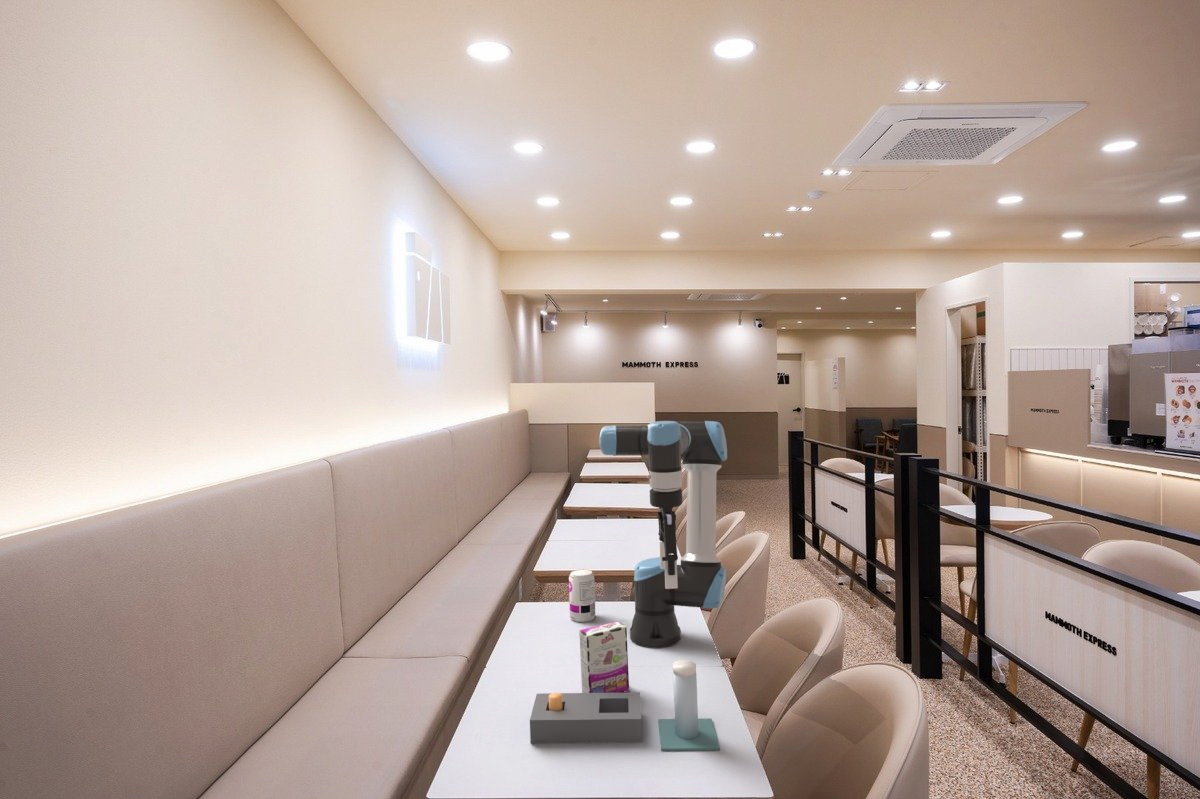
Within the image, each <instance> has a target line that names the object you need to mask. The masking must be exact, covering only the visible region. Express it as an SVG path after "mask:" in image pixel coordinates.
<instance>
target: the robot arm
mask: <svg viewBox="0 0 1200 799" xmlns="http://www.w3.org/2000/svg"><path fill="white" fill-rule="evenodd" d="M598 442H599V448H600V451H601V453H602V454H603V455H605V456H613V457H616V456H617V457H618V456H622V457H623V456H624V457H625V456H626V457H627V456H629V457H631V456H635V457H636V456H640V457H641V456H642V457H643V456H644V457H648V471H649V474H647V475H646V479H648V480H649V487H650V490H649V504H650V505H651V507H654V508H658V511H657V519H658V522H657V523H658V537H659V538H658V539H659V557H658V556H657V557H651V558H648V559H647V558H646V559H644V560H643V559H642V560H641V561H639V562H638V563H637V564H635V567H634V577H633V582H634V585H633V586H634V615H633V619H632V622H631V627H630V629H629V639H630V641H631V642H632V643H634V644H635V645H638V646H641V647H645V648H654V649H655V648H666V647H671V646H673V645H676V644H678V643H679V642H680V641H681V639H682V630H681V627H680V626H679V623H678V619H677V616H676V611H675V607H676V606H677V607H687V608H689V607H690V608H700V609H701V608H702V609H704V610H705V609H718V608H719V607H720V606H721V604H722V603H723V599H724V595H725V592H726V591H725V590H726V584H727V569H726V567H724V566H722V560H721V559H720V557H719V556H718V555H717V553H716V552H717V549H716V548H717V544H716V543H717V473H718V471H719V470H720V469H721V468H722V467H723V464H722V462H725V461H726V460H728V447H727V446H728V445H727V438H726V434H725V430H724V427H723V425H722V424H721V423H720V422H719V421H713V420H691V421H690V420H685V421H684V420H683V421H681V420H680V421H679V420H678V421H677V420H659V421H658V420H657V421H651V422H650V423H648V424H647V425H615V424H614V425H605V426H603V427H602V428H601V430H600V433H599V440H598ZM682 467H683V468H684V470H686V472H687V475H686V478H687V480H686V482H687V483H686V530H685V532H686V534H685V536H686V537H685V541H686V542H685V546H686V548H685V554H684V555H683V556H682V557H681V558H680V564H678V559H679V556H678V546H677V536H676V535H677V534H676V530H677V526H676V521H677V514H676V513H675V511H673V508H678V507H681V506H682V505H683V489H682V486H683V469H682Z"/></svg>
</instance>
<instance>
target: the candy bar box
mask: <svg viewBox="0 0 1200 799" xmlns="http://www.w3.org/2000/svg"><path fill="white" fill-rule="evenodd" d="M627 632H628V631H627V626H626V625H625V624H623V623H622V622H620V621H618V620H617V621H612V622H608V623H605V624H600V625H595V626H591V627H587V628H583V629H579V631H578V633H579V650H580V651H579V652H580V653H579V654H580V656H579V658H580V673H581V674H580V675H581V679H580V680H581V693H623V692H629V691H630V678H629V677H630V675H629V654H628V633H627Z"/></svg>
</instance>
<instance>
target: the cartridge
mask: <svg viewBox="0 0 1200 799" xmlns="http://www.w3.org/2000/svg"><path fill="white" fill-rule="evenodd" d="M672 677H673V678H672V679H673V680H672V681H673V683H672V684H673V702H674V703H673V704H674V719H675V733H676V735H677V736H678V737H680V738H683V739H692V738H695V737H697V736H698V733H699V732H698V719H699V712H698V711H699V710H698V686H697V684H698V683H697V680H698V679H697V663H696V662H694V661H692V660H689V659H679V660H676V661H674V662H673V663H672Z"/></svg>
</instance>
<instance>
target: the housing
mask: <svg viewBox="0 0 1200 799" xmlns="http://www.w3.org/2000/svg"><path fill="white" fill-rule="evenodd" d="M552 693H553V692H552ZM552 693H550V692H549V693H547V692H546V693H536V695H535V700H534V703H533V707H532V710H531V715H530V718H529V733H530V734H529V736H530V737H529V738H530V739H529V740H530V744H549V743H550V744H551V743H552V744H554V743H555V744H558V743H559V744H560V743H562V744H563V743H565V744H566V743H568V744H569V743H571V744H573V743H642V742H643V728H642V727H643V723H642V704H641V703H642V702H641V692H640V691H638V692H637V691H635V692H634V691H633V692H629V691H627V692H623V693H582V692H567V693H566V692H561V693H560V694H562V709H563V711H549V695H550V694H552Z"/></svg>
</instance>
